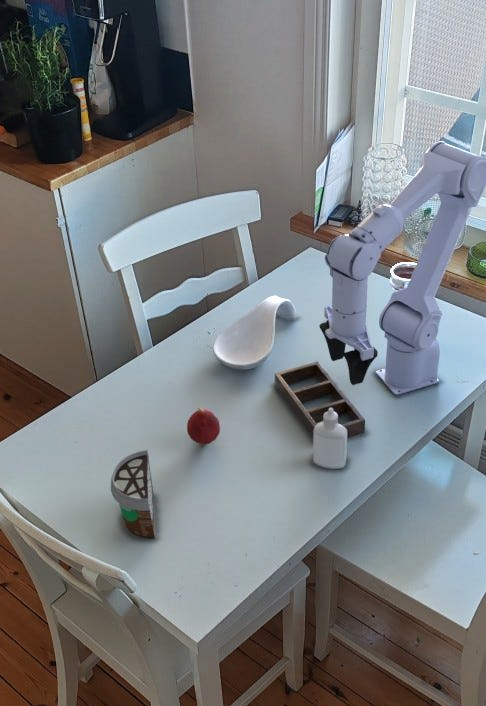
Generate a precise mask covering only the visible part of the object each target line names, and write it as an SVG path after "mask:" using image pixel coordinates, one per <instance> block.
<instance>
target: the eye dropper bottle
mask: <svg viewBox="0 0 486 706" xmlns="http://www.w3.org/2000/svg"><path fill="white" fill-rule="evenodd" d="M347 451H348V438H347V429H346V428H345V427H343V426H342V425H341V424H340V423H339V416H338V414H337V413H336V412H334V411H333V408H329V410H328V411H327V412H325V413H324V415H323V421H320V422H317V423H316V426H315V428H314V433H313V438H312V461H313V463H314V464H315V465H317V466H319V467H322V468H324V469H332V470H336V469H337V470H339V469H343V468H344V467H345V465H346V462H347V457H348V456H347V453H348V452H347Z"/></svg>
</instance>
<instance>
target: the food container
mask: <svg viewBox="0 0 486 706" xmlns="http://www.w3.org/2000/svg"><path fill="white" fill-rule="evenodd" d="M149 458H150V456H149V451H148V449H145V450H140V451H136V452H134V453H131V454H129V455H127V456H126V457H124V458H123V459H121V460H120V461H119V463H117V464H116V466H115V468H114V470H113V472H112V474H111V478H110V492H111V495H112V497H113V499H114V500H115V501H116V502H117V503H118V505H119V509H120V512H121V516H122V518H123V522H124V525H125V528H126V529H127V530H128V531H129V533H131V534H132V535H133V536H136V537H138V538H141V539H146V540H147V539H149V540H152V539H156V517H155V516H156V515H155V514H156V513H155V512H156V511H155V510H156V509H155V507H156V506H155V493H154V487H153V479H152V474H151V473H152V472H151V466H150V460H149Z"/></svg>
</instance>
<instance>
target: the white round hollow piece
mask: <svg viewBox="0 0 486 706" xmlns="http://www.w3.org/2000/svg"><path fill="white" fill-rule="evenodd" d="M416 264H417V263H415V262H400V263H397V264H395V265H394V266H392V268H390V273H391V275H390V278H389V284H390V287H391V289H392V290H393V291H394V292H396V291H399V290H402V289H405V288H407V286H408V283H409V281H410V279H411V276H412V274H413V271H414V269H415V266H416Z"/></svg>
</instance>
